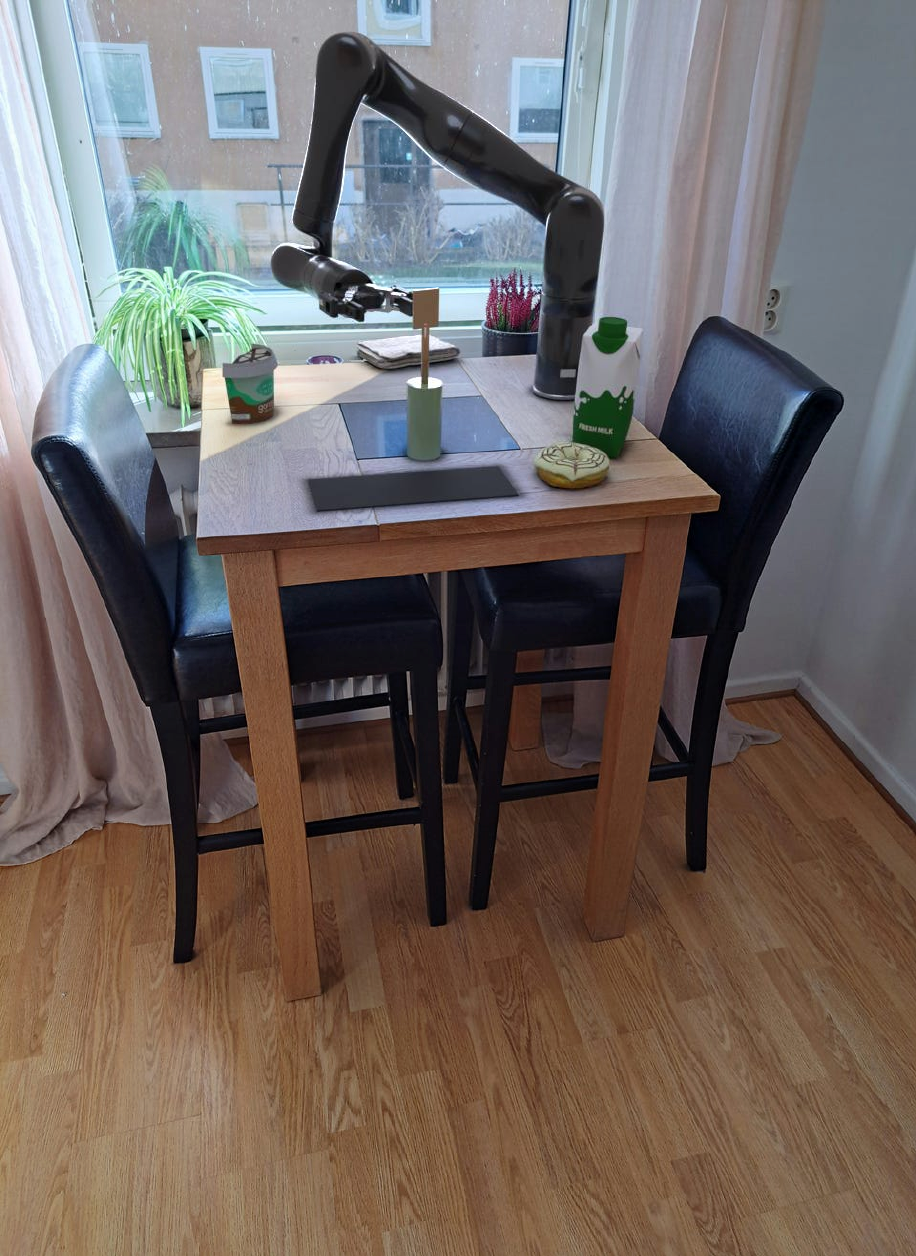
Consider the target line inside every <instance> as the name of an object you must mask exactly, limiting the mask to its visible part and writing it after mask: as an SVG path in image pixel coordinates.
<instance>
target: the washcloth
mask: <svg viewBox="0 0 916 1256" xmlns="http://www.w3.org/2000/svg"><path fill="white" fill-rule="evenodd" d="M421 340H422V334H415V335H404V336H402V335H401V336H398V337H397V336H396V337H388V338H381V339H373V340H366V341H364V340H363V341H360V342H357V343H356V346H355V347H356V349H357V350H356V355H357V356H358V357H360V358H362V359H363V360H365V361H366V362H368V363H370V364H372V365H373V366H375V367H377V368H381V369H384V370H389V369H390V370H391V369H392V370H393V369H399V368H404V367H407V366H417V365H421ZM460 355H461V349H460V348H459V347H458V346H456V345H454V344H451V343H449V342H446V341H442V340H441V339H440V338H437V337H436V336H433V335H432V334H429V364H431V363H437V362H444V361H450V360H453V359H456V358H458V357H459V356H460Z"/></svg>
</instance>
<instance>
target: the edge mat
mask: <svg viewBox="0 0 916 1256" xmlns="http://www.w3.org/2000/svg"><path fill="white" fill-rule="evenodd" d="M307 481H308V483H309V484H308V485H309V487H310V491H311V494H312V499H313V502H314V506H315V510H316V512H329V511H341V510H342V511H343V510H353V509H354V510H355V509H367V508H380V507H391V506H405V505H417V504H430V503H431V504H432V503H442V502H443V503H444V502H454V501H457V502H458V501H470V500H480V499H481V500H482V499H483V500H484V499H493V498H494V499H496V498H507V497H519V495H520V494H519V493H518V491H517V489H516V488H515V487H514V486H513V484H512V483H511V481H510V480H509V479H508V477H507V476H506V475H505V473H504V472H503V470H502V469H501V468H500V466H499V465H495V466H494V465H493V466H481V467H480V466H479V467H469V468H468V467H464V468H453V469H452V468H451V469H438V470H437V469H436V470H435V469H434V470H423V471H409V472H408V471H407V472H393V473H380V474H366V475H353V476H352V475H350V476H337V477H323V478H310V479H309V478H308V480H307Z"/></svg>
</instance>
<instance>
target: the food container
mask: <svg viewBox="0 0 916 1256" xmlns="http://www.w3.org/2000/svg"><path fill="white" fill-rule="evenodd" d="M250 348H251V349H250V350H249V351H248V352H246V353H243V354H240V355H238V356H237V357H236V358H235V359H234V361H232V362H231V363H228V362H222V372H221V373H222V378H224V382H225V389H226V396H227V401H228V406H229V413H230V419H231V424H232V425H233V424H236V425H248V424H249V425H250V424H251V425H252V424H257V423H258V424H259V423H261V422H265V421H268V420H271V418H273V416H274V415H275V370H276V369H277V368H278V366H279V365H278V360H277V357H276V355H275V353H274V351H273V349H272V348H271V347H269V346H267V345H264V344H260V343H253V342H251V343H250Z"/></svg>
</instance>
